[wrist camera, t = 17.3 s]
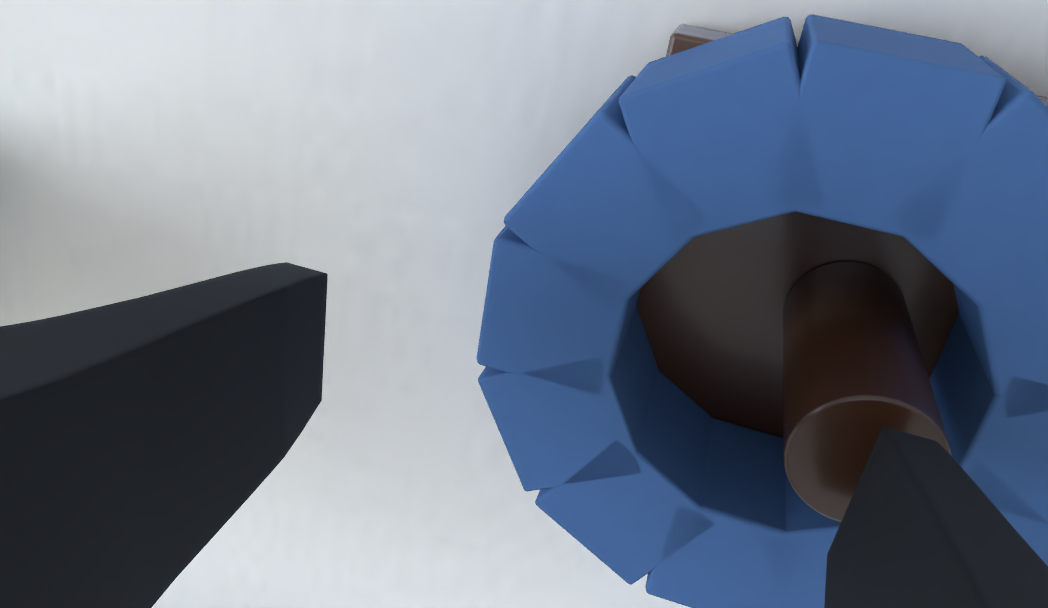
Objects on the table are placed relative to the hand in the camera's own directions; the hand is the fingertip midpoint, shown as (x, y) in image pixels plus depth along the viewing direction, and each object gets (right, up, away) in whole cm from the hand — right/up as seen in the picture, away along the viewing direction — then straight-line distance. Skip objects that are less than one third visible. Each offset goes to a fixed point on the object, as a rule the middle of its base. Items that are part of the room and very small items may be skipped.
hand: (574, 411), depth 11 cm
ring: (+4, +1, +4) cm, 6 cm away
